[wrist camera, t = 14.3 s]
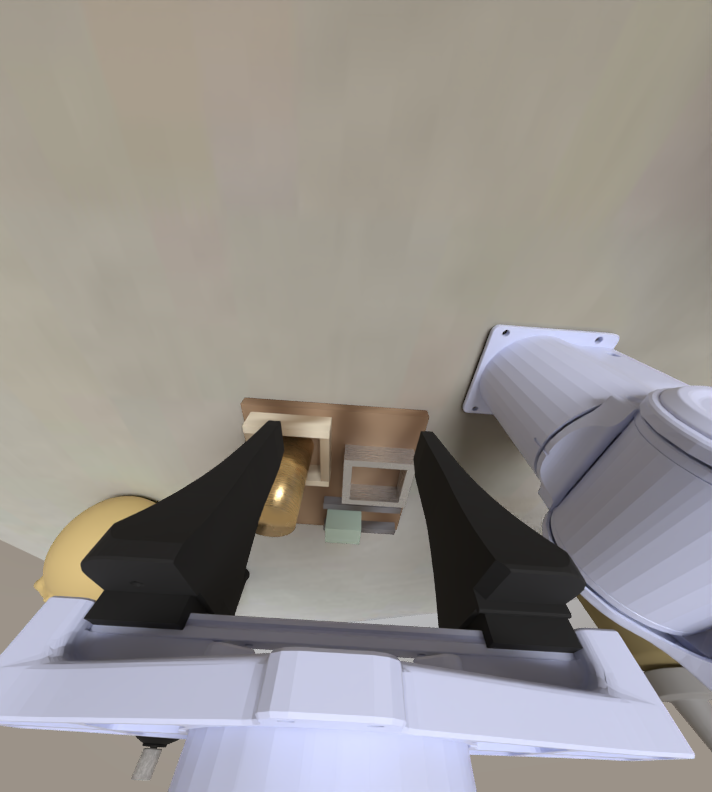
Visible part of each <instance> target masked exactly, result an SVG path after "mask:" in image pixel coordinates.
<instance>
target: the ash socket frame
mask: <svg viewBox="0 0 712 792" xmlns="http://www.w3.org/2000/svg"><path fill="white" fill-rule="evenodd" d="M269 420H272V421H281V427H282V435H283V436H294V437H309V438H320V465H310V467H309V471H308V475H307V480H306V484H305V485H308V486H323V487H329V481H330V474H331V437H332V417H320V416H305V415H291V414H277V413H263V412H250V414H249V416H248V417H247V419H246V420H245V422H244V423H243V425H242V428H243V432H244V436H245V441H247V440H248V439H249V438H250V437H251V436H253V435H254V434H255V433H256V432H257V431H258V430H259V429H260V428H261V427H262V426H263V425H264V424H265V423H266V422H267V421H269Z"/></svg>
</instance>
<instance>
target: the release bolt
mask: <svg viewBox="0 0 712 792" xmlns="http://www.w3.org/2000/svg"><path fill="white" fill-rule="evenodd" d="M360 535H361V511H348V510H333V509H328V510H327V518H326V525H325V542H330V543H346V544H359V542H360Z"/></svg>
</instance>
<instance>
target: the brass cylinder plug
mask: <svg viewBox="0 0 712 792" xmlns="http://www.w3.org/2000/svg"><path fill="white" fill-rule="evenodd" d="M283 443H284V453H283V457H282V461H281V465H280V468H279V471H278V473H277V476H276V478H275V481H274V483H273V486H272V488H271V491H270V493H269V496H268V498H267V501H266V503H265V505H264V508H263V511H262V514H261V516H260V520H259V523H258V526H257V530H256V534H259V535H263V536H269V537H280V536H285V535H288V534H290V533H291V532H293V531H294V529H295V526H296V522H297V518H298V514H299V509H300V505H301V501H302V497H303V492H304V488H305V484H306V480H307V475H308V471H309V467H310V463H311V458H312V454H313V450H314V443H313V441H312V439H311V438H309V437H294V436H283Z"/></svg>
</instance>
